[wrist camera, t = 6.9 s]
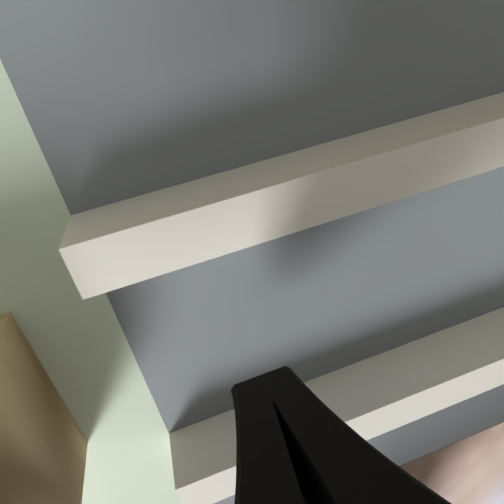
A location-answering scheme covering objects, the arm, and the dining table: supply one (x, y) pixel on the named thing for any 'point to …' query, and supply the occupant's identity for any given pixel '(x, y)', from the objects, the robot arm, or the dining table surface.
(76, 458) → the maple block
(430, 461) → the dining table surface
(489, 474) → the dining table surface
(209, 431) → the trap deck
